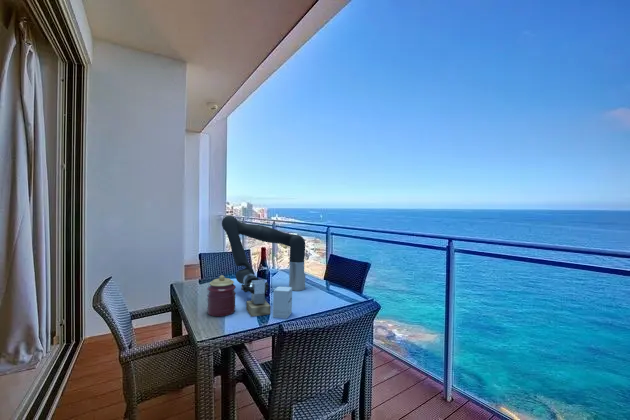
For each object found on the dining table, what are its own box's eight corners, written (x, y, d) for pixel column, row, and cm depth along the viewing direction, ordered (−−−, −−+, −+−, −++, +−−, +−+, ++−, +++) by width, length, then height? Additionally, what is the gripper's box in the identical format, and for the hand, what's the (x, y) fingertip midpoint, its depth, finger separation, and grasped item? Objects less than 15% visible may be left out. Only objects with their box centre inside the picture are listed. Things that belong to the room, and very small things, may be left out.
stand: (263, 306, 150) (264, 298, 150) (270, 314, 140) (270, 305, 140) (246, 309, 146) (246, 301, 146) (251, 316, 136) (251, 308, 136)
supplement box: (287, 318, 134) (288, 291, 134) (272, 317, 136) (272, 290, 136) (292, 313, 141) (292, 287, 141) (277, 311, 143) (277, 285, 143)
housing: (261, 299, 147) (261, 279, 146) (264, 303, 141) (264, 282, 141) (251, 300, 144) (251, 280, 144) (254, 304, 139) (254, 283, 139)
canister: (208, 318, 133) (208, 279, 133) (206, 309, 145) (206, 273, 145) (237, 314, 138) (237, 277, 138) (233, 305, 150) (233, 271, 150)
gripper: (237, 276, 152) (244, 285, 137) (264, 274, 158) (274, 282, 143) (237, 290, 153) (244, 300, 137) (264, 287, 159) (273, 297, 143)
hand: (259, 291), depth 140 cm, fingers closed on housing, 5 cm apart
